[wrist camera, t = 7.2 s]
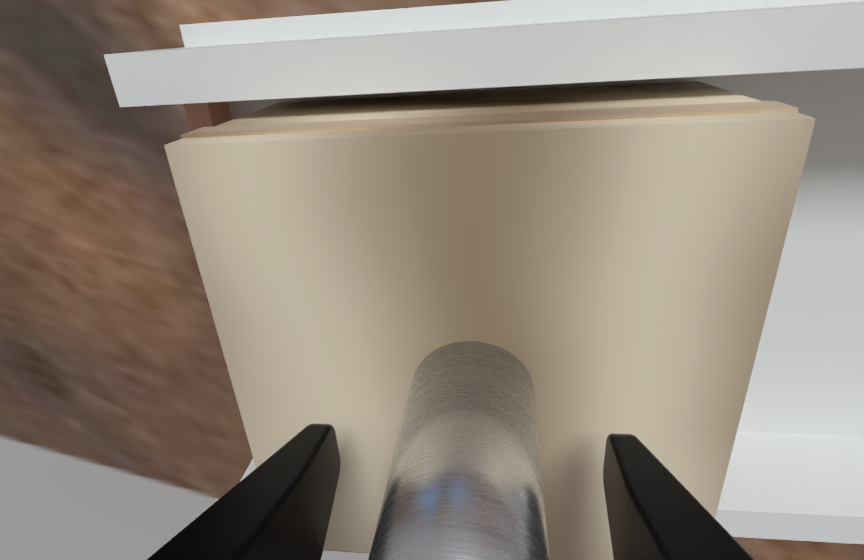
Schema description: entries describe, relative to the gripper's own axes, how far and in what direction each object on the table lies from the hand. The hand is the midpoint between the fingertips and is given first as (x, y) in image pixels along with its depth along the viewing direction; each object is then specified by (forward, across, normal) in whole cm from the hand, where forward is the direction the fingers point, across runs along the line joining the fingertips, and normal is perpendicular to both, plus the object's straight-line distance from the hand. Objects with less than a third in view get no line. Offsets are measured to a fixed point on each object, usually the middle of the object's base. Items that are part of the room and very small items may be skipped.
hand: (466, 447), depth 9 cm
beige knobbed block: (+8, 0, 0) cm, 8 cm away
